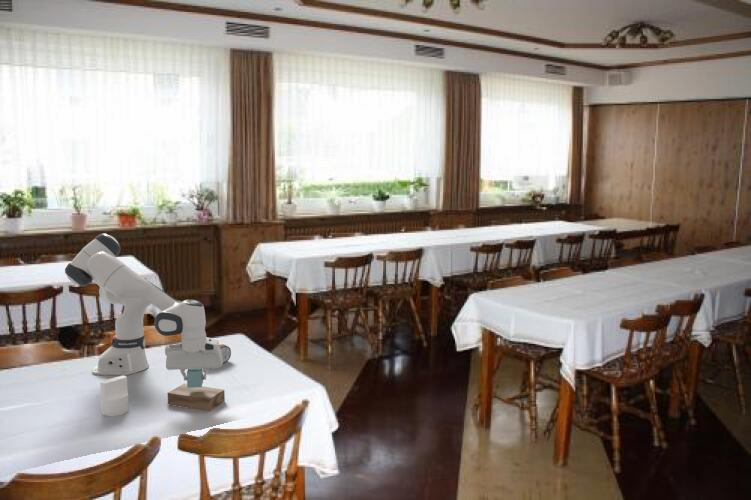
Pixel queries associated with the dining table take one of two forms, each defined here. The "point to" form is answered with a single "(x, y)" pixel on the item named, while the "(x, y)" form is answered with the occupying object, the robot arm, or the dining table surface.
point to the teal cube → (194, 378)
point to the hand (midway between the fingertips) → (195, 379)
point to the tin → (225, 352)
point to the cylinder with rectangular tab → (114, 396)
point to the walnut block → (196, 397)
